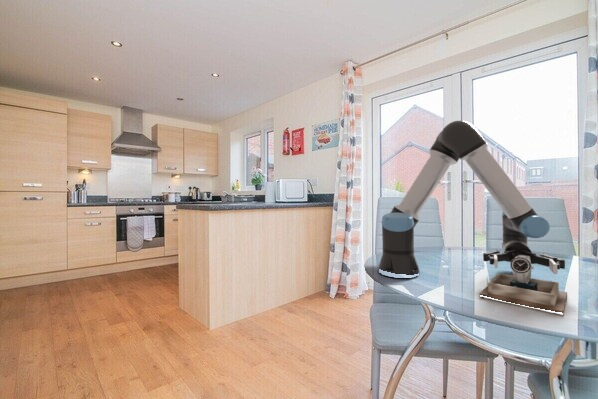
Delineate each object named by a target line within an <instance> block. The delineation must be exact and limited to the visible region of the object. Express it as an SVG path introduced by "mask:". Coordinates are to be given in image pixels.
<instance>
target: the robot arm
mask: <svg viewBox="0 0 598 399" xmlns="http://www.w3.org/2000/svg"><path fill="white" fill-rule="evenodd" d="M487 147H488V142H487V141H486V140H485V138H484V137H483V136H482V134H481V133H480V132H479V131H478V129H477V128H476V127H475V126H474V125H473V124H472V123H470V122H469V121H465V120H455V121H451V122H450V123H448V124H446V125H445V126H444V127H443V129H442V130H441V131H440V132H439V133H438V135H437V136H436V139H435V141H434V142H433V143H432V145H431V147H430V148H429V150H428V152H429V155H430V156H429V157H428V159H427V161H426V162H425V164H424V165H423V167H422V169H421V170H420V171H419V173H418V175H417V176H416V178H415V180H414V181H413V183H412V184H411V186H410V187H409V189H408V191H407V193H406V194H405V196H404V197H403V198H402V201H401V202H400V203H399V204H397V205H396V204H395V205H394V206H393V208H392V209H391V211H390V213H389V212H388V213H386V214H383V216H382V218H381V225H382V226H381V232H382V234H381V236H382V254H381V258H380V261H379V263H378V264H379V265H378V267H379V268H378V270H379V269H381V270H383V271H387V272H391V273H395V274H406V275H414V274H418V273H419V274H420V267H419V264H418V262H417V259H416V256H415V237H414V235H415V230H414V229H415V227H416V225H417V224H418V223H419V221H420V217H419V214H420V213H421V211H422V210H423V208H424V206H425V205H426V203H427V202H428V200H429V199H430V198H431V196H432V195H433V193H434V191H435V190H436V188H437V187H438V185H439V183H441V180H442V179H443V177H444V176H445V174H446V173H447V172H448V170H449V168H450V166H451V165H455V164H457V163H458V161H459V160H461V161H465V162H466V164H467V165H468V166H469V168H470V169H471V170H472V172H473V173H474V174H475V176H477V178H478V179H479V181H480V182H481V183H482V184H483V186H484V188H485V189H486V190H487V191H488V193H489V194H490V196H491V197H492V198H493V200H494V201H495V202H496V203H497V205H498V206H499V208H500V209H501V210H502V214H501V218H502V220H501V221H502V243H501V246H502V247H501V248H502V250H503V252H501V250H499V249H494V250H492V251H489V252H484V253H482V259H483V260H482V261H483V262H489V265H492V266H494V269H498V265H499V264H498V262H508V263H511V261H512V260H513V259H514V258H515V257H516V256H518V255H523V256H529V257H530V260H531V265H540V266H545V267H547V268H548V269H549V270H550V271H551V272H552V273H553V274H554V275H558V270H561V269H563V270H565V269H566V260H565V259H562V258H558V257H557V256H556V257H555V256H553V255H552V256H551V255H549V254H546V253H543V252H542V253H541V252H540V253H539V255H537V254H536V253H535V252H534V253H533V252H532V250H531V249H530V247H529V246H528V238H530V239H541V238H544V237H545V236H547V235H548V234H549V231H550V229H551V228H550V223H549V222H548V220H546V219H545V218H544V217H543V216H541V215H538V214H537V212H536V211H535V209H534V208H533V207H532V206H531V205H530V204H529V202H528V201H527V199H526V198H525V197H524V195H523V194H522V193H521V191H520V190H519V189H518V188H517V186H516V185H515V184H514V182H513V180H511V178H510V177H509V176H508V175H507V172H505V170H504V169H503V168H502V166H501V165H500V164H499V163H498V161H497V159H496V158H495V157H494V156H493V155H492V153H491V152H490V151H489V150H488V148H487ZM553 274H552V275H553Z"/></svg>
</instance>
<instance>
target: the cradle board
mask: <svg viewBox="0 0 598 399" xmlns="http://www.w3.org/2000/svg"><path fill="white" fill-rule="evenodd" d="M513 279H516V278H515V275H514V274H512V275H511V274H506V273H497V274H496V275H495V276H494V277H493V278H492V279H491V280H490V281H488V282H487V285H486V287H485V288H484V289H483V290H481V291H480V293H479V296H480V295H483V296H487V297H491V298H494V299H498V300H502V301H506V302H511V303H515V304H520V305H525V306H529V307H534V308H540V309H545V310H551V311H555V312H562V313H563V312H564V313H565V309H566V304H567V299H568V298H567V297H568V292H567V291H563V290H559V289H560V288H559V285H560V284H559V283H560V282H557V281H552V280H544V279H538V278H531V277H530V279H529V281H530V282H535V283H537V291H534V290H528V289H523V288H517V287H511V286H510V281H512V280H513ZM565 303H566V304H565ZM564 308H565V309H564Z"/></svg>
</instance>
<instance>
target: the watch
mask: <svg viewBox="0 0 598 399" xmlns="http://www.w3.org/2000/svg"><path fill="white" fill-rule="evenodd" d="M509 263H510V264H509V265H510V269H511V270H512V275H513V276H515V278H516V279H513V280H512V281H510V286H511V287H517V288H523V289H528V290H534V291H537V283H535V282H530V281H529V279H530V278H531V276H532V270H534V269H535V267H534V266H533V264H531V260H530V257H529V256H523V255H518V256H516V257H515V258H514V259H513V260H512V261H511V262H509Z"/></svg>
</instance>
